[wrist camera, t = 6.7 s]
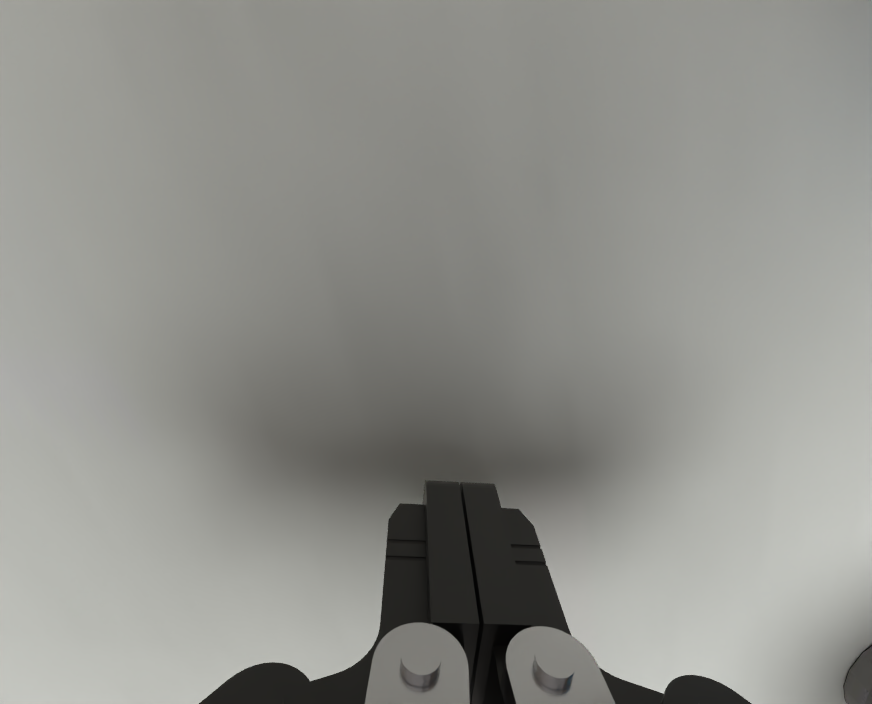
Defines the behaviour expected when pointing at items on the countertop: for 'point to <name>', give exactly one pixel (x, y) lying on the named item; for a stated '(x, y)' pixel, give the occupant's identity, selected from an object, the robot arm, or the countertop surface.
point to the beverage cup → (860, 680)
